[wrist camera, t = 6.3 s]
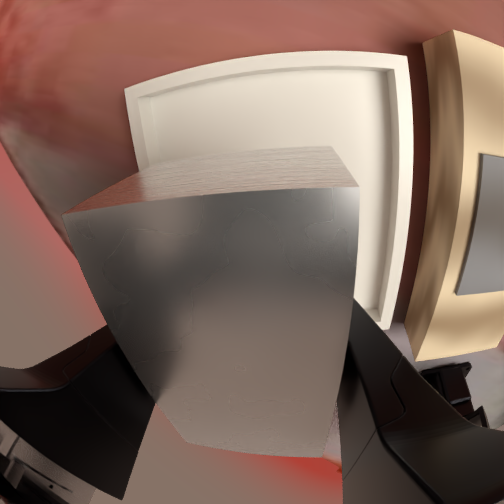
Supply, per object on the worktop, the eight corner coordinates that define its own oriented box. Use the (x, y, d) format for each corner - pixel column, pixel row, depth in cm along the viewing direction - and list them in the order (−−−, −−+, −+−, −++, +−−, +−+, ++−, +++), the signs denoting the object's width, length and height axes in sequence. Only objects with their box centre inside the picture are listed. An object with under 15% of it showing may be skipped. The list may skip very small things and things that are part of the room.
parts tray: (384, 310, 19) (389, 329, 17) (193, 310, 22) (184, 326, 20) (395, 61, 11) (406, 56, 9) (142, 88, 14) (124, 88, 12)
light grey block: (325, 372, 11) (321, 456, 7) (213, 367, 12) (186, 442, 8) (331, 145, 7) (360, 187, 3) (156, 163, 8) (61, 215, 4)
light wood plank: (479, 315, 18) (497, 349, 14) (403, 323, 19) (416, 364, 16) (514, 71, 8) (554, 73, 4) (422, 42, 10) (456, 28, 6)
